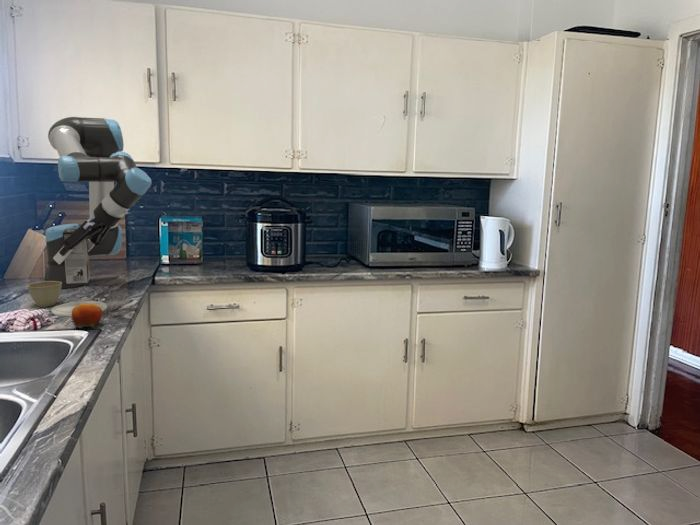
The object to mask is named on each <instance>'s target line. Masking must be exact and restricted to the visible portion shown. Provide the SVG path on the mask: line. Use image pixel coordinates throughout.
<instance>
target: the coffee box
mask: <svg viewBox="0 0 700 525" xmlns="http://www.w3.org/2000/svg"><path fill="white" fill-rule="evenodd" d="M76 230H77V229H65V230H64V232H63V241H64V240H66V239H67V238H68V237H69V236H70V235H71V234H72V233H73V232H75V231H76ZM89 257H90V256H88V243H87V238H86V239H85V240H83V241H82V242H81V243H79V244H78V245H77V246H75V247H74V248H73V251H72V252H71V253H70V254H69V255H68V256H67V257H66V259H65V272H66V283H67V284H70V283H87V284H88V283H89V280H90V277H91V274H90V272H91V271H90V258H89Z"/></svg>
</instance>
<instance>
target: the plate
mask: <svg viewBox="0 0 700 525" xmlns="http://www.w3.org/2000/svg"><path fill="white" fill-rule="evenodd" d="M83 303H92V304H96V305H98V306H99V307H100V308H101V309H102V313H103V312H104V311H106V310H107V309H108V305H107V303H105V302H103V301H97V300H77V301H71V302H66V303H62V304H59V305H54V306H53V307H51V314H52V315H53V314H54V315H53V316H56V315H57V317H63V316H67V317H66V318H70V316H71V318H72V310H73V308H74V307H76V306H78V305H80V304H83Z"/></svg>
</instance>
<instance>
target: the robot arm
mask: <svg viewBox="0 0 700 525" xmlns="http://www.w3.org/2000/svg"><path fill="white" fill-rule="evenodd" d="M121 128H122V127H121V126H120V123H119V122H118V121H117V120H115V119H108V118H105V117H104V118H103V117H79V116H68V117H64V118H61V119H59V120H57V121H56V122H55V123H53V125H52V124H51V126H50V128H49V130H48V132H47V133H48V134H47V139H48V141H49V144H50V146H51V147H52V148H53V149H54V150H55V151H57V153H58V156H59V158H58V160H57V170H58V178H59V179H60V180H61V182H71V183H86V182H88V183H89V184H88V185H89V186H88V189H89V195H88V196H89V218H88V219H87V220H85V221H83V222H82V224H81V225H79V224H78V223H67V224H66V223H65V224H59V225H56V226H55V225H54V226H51V227H49V228H47V229H46V230H45V239H44V241H45V246H46V248H45V249H46V261H47V263H46V265H47V267H46V270H45V274H44V278H43V282H45V281H59V282H62V287H61V289H71V288H79V287H82V286H86V285H87V284H88V283H70V284H67V283H66V272H65V259H66V257H67V256H68V255H69V254H70V253H71V252H72V251H73V248H74V247H75V246H77V245H78V244H79V243H81V242H82V241H83V240H85V239H86V238H87V243H88V257H99V256H100V257H101V256H103V257H105V256H106V257H107V256H113V255H117V254H118V253H119V252H120V251H121V249H122V245H123V229H122V227H121V226H120V225H119V222H120V221H121V220H122V218H124V216H125V215H128V214H129V210H130V209H132V208H133V207H134V205H135V204H136V203H138V201H139V200H140V199H141V198H142V196H144V195H145V194H146V193H147V192H148V189H149V188H150V187H151V186H152V179H151V177H150V176H149V175H148V174H147V173H146V172H145V171H144V170H142V169H140V168H139V167H137V163H136V162H135V161H134V159H133V157H132V156H131V154H129V153H127V152H125V151H124V138H123V132H122V129H121ZM114 184H115V185H114ZM65 229H77V230H76V231H75V232H73V233H72V234H71V235H70V236H69V237H68V238H67V239H66V240H64V241H63V232H64V230H65Z"/></svg>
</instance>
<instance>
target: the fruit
mask: <svg viewBox="0 0 700 525" xmlns="http://www.w3.org/2000/svg"><path fill="white" fill-rule="evenodd" d="M102 316H103V312H102V309H101V308H100V307H99V306H98V305H96V304H92V303H83V304H80V305H78V306H76V307H74V308H73V310H72V317H71V318H72V319H71V320H72V322H73V323H74V325H75V327H76V328H79V329H82V328H87V327H88V328H89V327H91V328H93V329H95V326H97V325H98V324H99V323H100V321H101V319H102Z"/></svg>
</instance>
